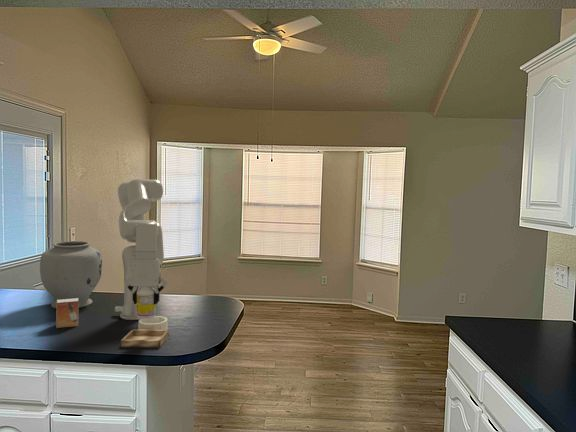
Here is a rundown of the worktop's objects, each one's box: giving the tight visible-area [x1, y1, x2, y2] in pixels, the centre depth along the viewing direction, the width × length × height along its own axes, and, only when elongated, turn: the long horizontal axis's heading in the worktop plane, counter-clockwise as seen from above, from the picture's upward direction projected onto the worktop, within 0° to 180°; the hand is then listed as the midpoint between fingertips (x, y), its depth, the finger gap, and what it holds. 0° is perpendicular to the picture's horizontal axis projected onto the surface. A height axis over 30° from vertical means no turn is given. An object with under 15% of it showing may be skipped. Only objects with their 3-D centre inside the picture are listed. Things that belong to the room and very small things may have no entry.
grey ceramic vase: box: [39, 240, 103, 309], centre depth 202 cm, size 27×27×30 cm
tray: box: [120, 328, 170, 349], centre depth 157 cm, size 14×12×2 cm
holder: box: [137, 315, 169, 330], centre depth 170 cm, size 11×11×4 cm
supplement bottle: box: [137, 287, 156, 319], centre depth 156 cm, size 7×7×13 cm
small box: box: [55, 298, 79, 329], centre depth 172 cm, size 8×6×10 cm
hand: (146, 302), depth 156 cm, fingers closed on supplement bottle, 6 cm apart
